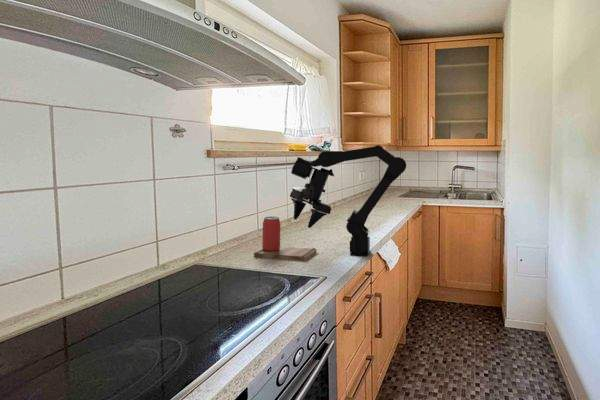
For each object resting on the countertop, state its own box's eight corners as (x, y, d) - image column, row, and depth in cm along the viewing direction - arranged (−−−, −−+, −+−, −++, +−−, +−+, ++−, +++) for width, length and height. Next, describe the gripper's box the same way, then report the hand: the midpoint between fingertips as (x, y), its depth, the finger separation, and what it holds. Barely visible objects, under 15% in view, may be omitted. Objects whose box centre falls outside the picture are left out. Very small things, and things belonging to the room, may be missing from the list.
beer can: (283, 248, 159) (283, 217, 157) (273, 252, 153) (274, 220, 151) (268, 246, 162) (269, 215, 160) (258, 250, 156) (259, 218, 154)
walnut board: (316, 252, 157) (316, 248, 157) (305, 260, 146) (305, 255, 146) (268, 249, 164) (267, 244, 164) (253, 256, 153) (253, 252, 153)
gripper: (286, 171, 156) (271, 211, 157) (316, 184, 142) (299, 227, 143) (308, 179, 163) (294, 217, 164) (339, 192, 149) (323, 233, 150)
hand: (301, 223), depth 155 cm, fingers open, 9 cm apart
